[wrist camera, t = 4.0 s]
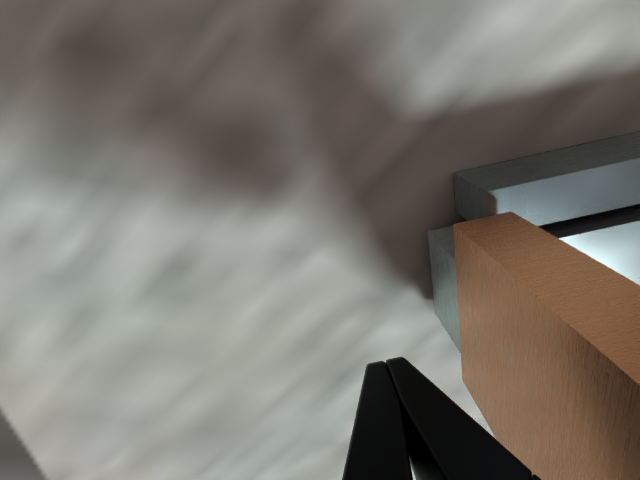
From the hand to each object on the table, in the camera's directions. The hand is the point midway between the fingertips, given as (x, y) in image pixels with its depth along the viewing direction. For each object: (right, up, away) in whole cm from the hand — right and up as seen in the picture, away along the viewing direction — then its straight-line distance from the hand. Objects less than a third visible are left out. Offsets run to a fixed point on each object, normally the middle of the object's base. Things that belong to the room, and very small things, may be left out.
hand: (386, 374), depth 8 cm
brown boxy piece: (+7, +3, +3) cm, 8 cm away
